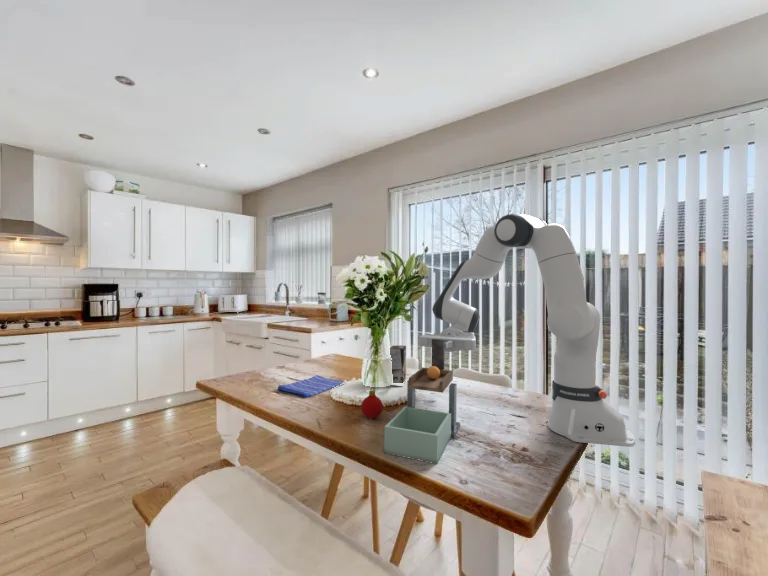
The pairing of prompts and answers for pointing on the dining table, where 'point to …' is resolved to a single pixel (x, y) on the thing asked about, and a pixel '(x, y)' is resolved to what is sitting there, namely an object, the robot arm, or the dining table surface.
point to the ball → (433, 372)
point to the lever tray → (438, 357)
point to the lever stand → (452, 405)
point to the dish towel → (309, 386)
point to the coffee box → (398, 363)
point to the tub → (418, 434)
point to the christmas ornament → (371, 405)
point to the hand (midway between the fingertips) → (442, 345)
